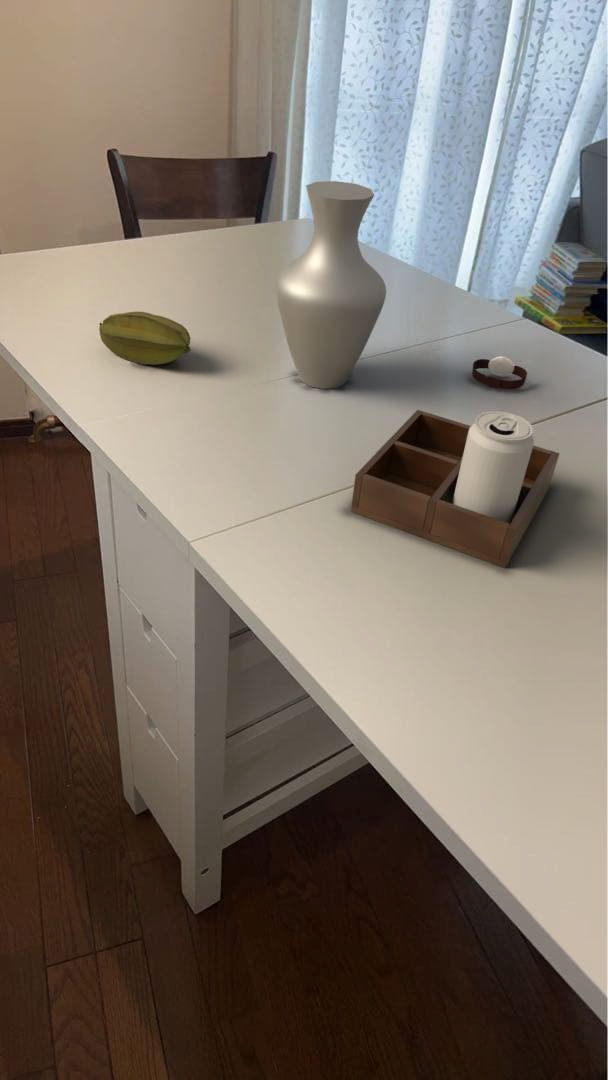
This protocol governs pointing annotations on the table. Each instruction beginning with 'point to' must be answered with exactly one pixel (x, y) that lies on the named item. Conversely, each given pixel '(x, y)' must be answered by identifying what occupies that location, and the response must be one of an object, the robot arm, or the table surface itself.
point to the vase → (330, 289)
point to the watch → (499, 373)
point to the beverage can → (494, 464)
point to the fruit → (144, 337)
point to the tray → (443, 490)
